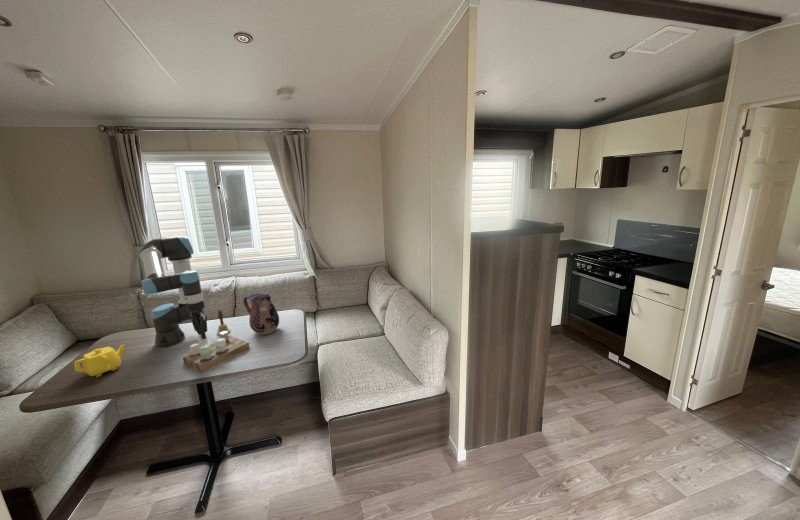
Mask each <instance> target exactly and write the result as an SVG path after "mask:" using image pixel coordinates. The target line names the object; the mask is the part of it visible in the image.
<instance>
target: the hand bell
mask: <svg viewBox="0 0 800 520" xmlns="http://www.w3.org/2000/svg"><path fill="white" fill-rule="evenodd" d="M217 316H218V319H219V321H220V325H219V326H218V330H217V333H216V336H218V337H219V336H220V333H221V332H223V331H226V332H228V335H229V334H230V333H231V332H232V330H231V329H229V328H228V326H227V324H226V323H224V314H223V312H222V311H221V309H219V310H218V311H217Z"/></svg>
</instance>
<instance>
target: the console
mask: <svg viewBox="0 0 800 520" xmlns="http://www.w3.org/2000/svg"><path fill="white" fill-rule="evenodd" d="M228 337H229V340H227V341H226V345H227V346H226V347H225V348H223V349H216V346H215V341H214V342H212V343H210V344H209V345H210V347H211V352H212V353H211V354H210V355H208V356H205V357H201V356H200V353H199V354H197V355H192V353H191V352H189V353H187V354H185V355H183V356H182V360H183V364H185V365H186V366H188V367H190V368H193V369H194V370H197V371H198V372H200V373H205V372H207V371H209V370H211V369H212V368H213V369H214V368H215V367H217V366H218V365H221V364H223V363H224V362H226V361H228V360H230V359H232V358H235V357H236V356H238V355H240V354H242V353H244V352H246V351H247V350H250V343H249V341H245V340H242V339H241V338H237V337H235V336H232V335H228Z"/></svg>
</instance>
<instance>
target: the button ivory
mask: <svg viewBox="0 0 800 520" xmlns="http://www.w3.org/2000/svg"><path fill="white" fill-rule="evenodd" d="M214 342H215V346H216V349H223V348H225V347H226V346H227V345H226V340H225V338H220V337H219V338H216V339H215V340H214Z"/></svg>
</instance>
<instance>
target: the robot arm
mask: <svg viewBox="0 0 800 520" xmlns="http://www.w3.org/2000/svg"><path fill="white" fill-rule="evenodd" d="M193 254H195V253H194V249H193V246H192V244H191V241H190V239H189V237H188V236H187V235H182V236H181V235H178V236H168V237H162V238H155V239H151V240H149V241H148V242H145V244H144V245H143V246H142V247H141V248H140V250H139V254H138V255H139V258H140V260H141V261H142V265H143V268H144V269H143V270H144V273H145V279H142V280H141V287H142V292H143V294H145V295H152V294H153V295H154V294H158V293H159V294H160V293H163V292H168V291H175V290H177V291H178V294H179V298H180V299H178V301H177V303H178V304H174V303H170V302H168V303H164V304H162V305H158V306H157V307H155V308H153V309H152V310H151V313H150V314H151V315H150V316H151V320H152V323H153V326H154V331H155V336H154V337H155V338H154V346H155V347H156V348H169V347H171V346H174V345H178V344H180V343H182V342H183V341H184V340H185V339H186V334H185V333H184V331H183V330H182V329H181V327H180V325H179V324H181V323H186V322H189V321H191V323H192V327H193V329H194V331H195V332H196V333H197V334H198V341H199V344H200V345H199V346H204V345H208V339H207V335H206V333H207V332H208V323H207V321H208V319H207V318H208V316H207V314H206V313H205V311H206V309H205V308H206V307H205V306H206V304H205V301H204V296H203V291H202V287H201V281H200V276H199V273H198V271H197V270H192V267H191V263H190V260H191V259H192V255H193ZM162 259H168V261H169V262H170V263H172V267H173V272H174V274H168V275H167V274H166V273H165V270H164V267H163V262H162Z"/></svg>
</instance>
